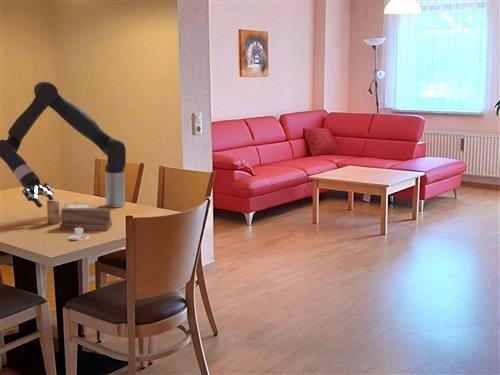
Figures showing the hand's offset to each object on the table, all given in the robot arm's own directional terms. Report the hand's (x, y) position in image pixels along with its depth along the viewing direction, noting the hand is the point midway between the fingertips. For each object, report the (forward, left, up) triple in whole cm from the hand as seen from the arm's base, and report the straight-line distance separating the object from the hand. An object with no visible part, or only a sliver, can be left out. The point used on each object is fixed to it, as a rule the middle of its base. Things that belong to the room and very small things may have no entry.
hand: (47, 204), depth 271 cm
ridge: (+8, +19, -8) cm, 22 cm away
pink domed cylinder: (+1, +3, -8) cm, 8 cm away
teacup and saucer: (+25, +16, -9) cm, 31 cm away
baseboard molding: (-17, +7, -9) cm, 20 cm away
